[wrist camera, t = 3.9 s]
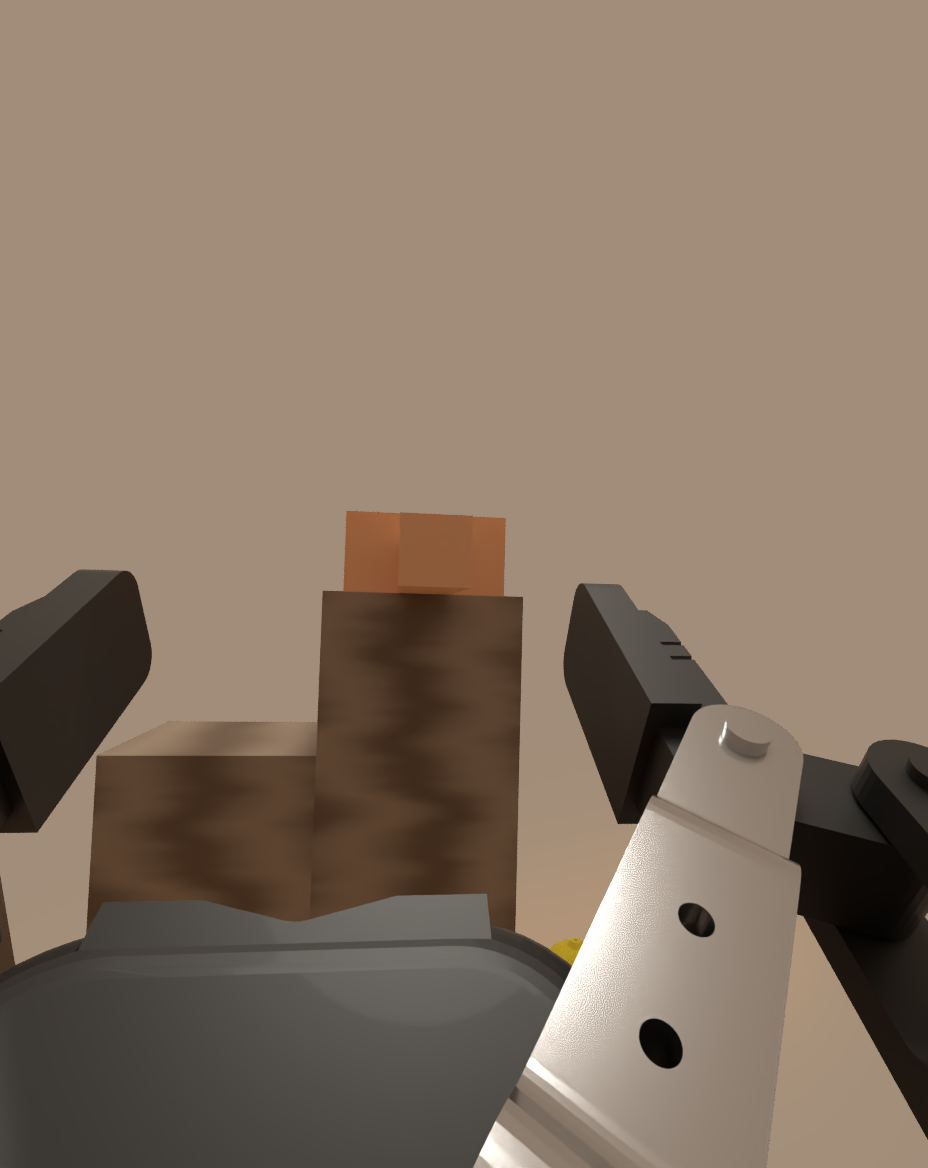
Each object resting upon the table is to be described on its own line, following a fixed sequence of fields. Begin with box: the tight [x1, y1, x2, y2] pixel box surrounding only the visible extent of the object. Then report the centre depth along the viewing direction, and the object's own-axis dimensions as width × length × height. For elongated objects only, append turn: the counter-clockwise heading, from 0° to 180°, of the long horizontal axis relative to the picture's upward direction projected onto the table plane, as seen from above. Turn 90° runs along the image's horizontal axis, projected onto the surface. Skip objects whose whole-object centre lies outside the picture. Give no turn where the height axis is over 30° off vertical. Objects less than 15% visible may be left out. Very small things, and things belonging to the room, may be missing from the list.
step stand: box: [86, 591, 523, 934], centre depth 31 cm, size 20×8×32 cm, turn 96°
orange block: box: [344, 511, 505, 596], centre depth 28 cm, size 8×17×4 cm, turn 6°
